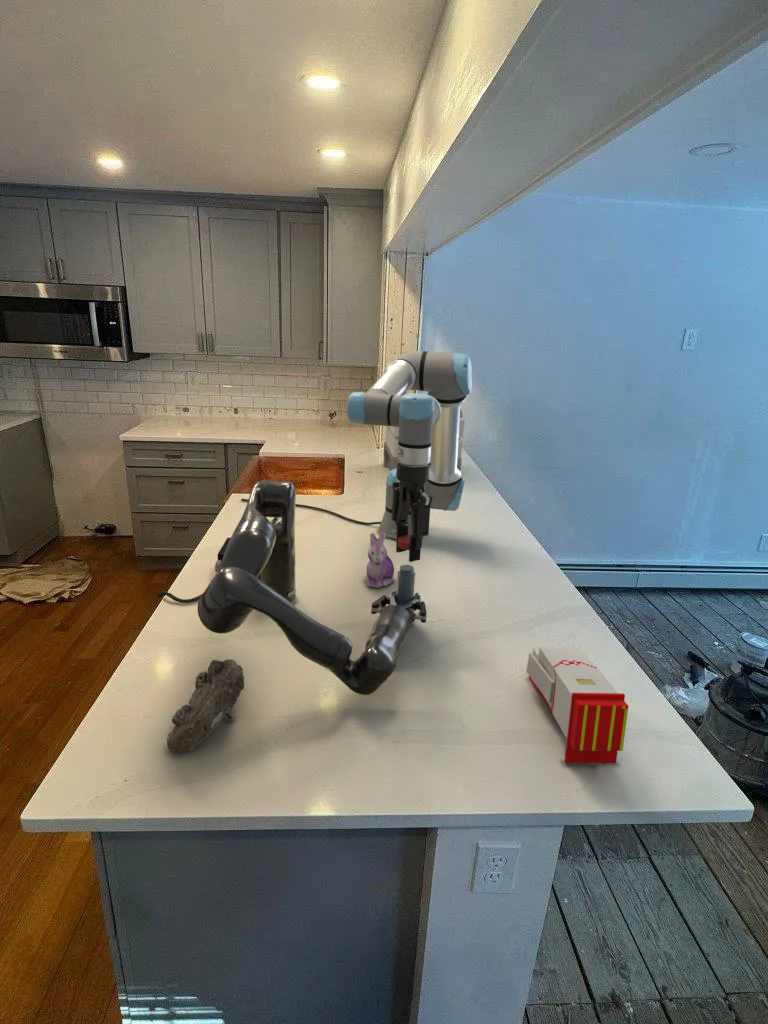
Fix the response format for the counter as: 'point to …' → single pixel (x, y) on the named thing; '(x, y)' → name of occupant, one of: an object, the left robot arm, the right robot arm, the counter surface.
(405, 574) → the jar
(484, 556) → the counter surface
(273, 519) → the feather
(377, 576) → the figurine
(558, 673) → the toy
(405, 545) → the lid
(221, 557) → the figurine character
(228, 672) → the fossil
